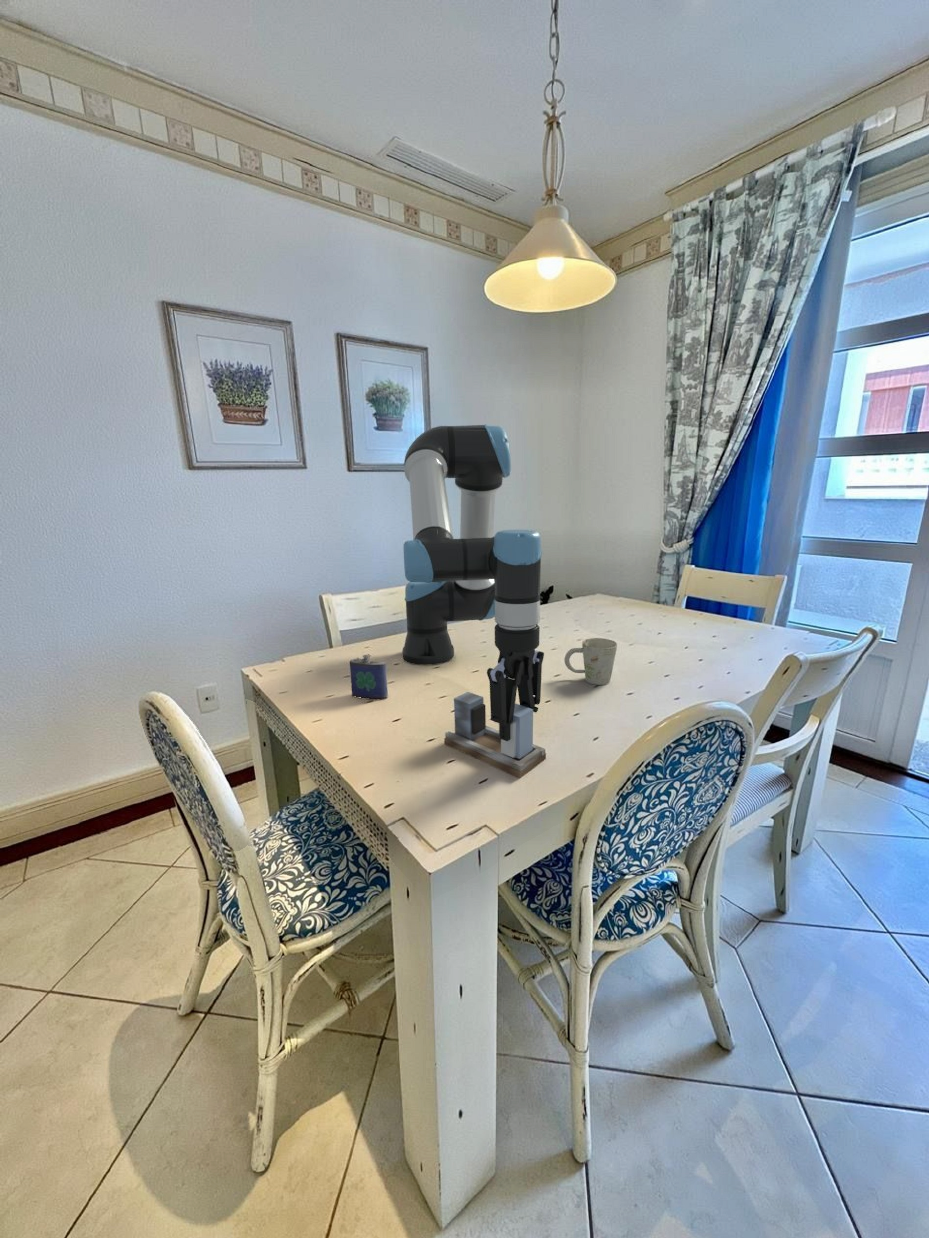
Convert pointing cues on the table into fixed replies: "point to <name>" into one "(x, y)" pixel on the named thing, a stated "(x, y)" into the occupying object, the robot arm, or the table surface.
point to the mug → (595, 659)
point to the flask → (368, 678)
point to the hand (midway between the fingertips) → (516, 748)
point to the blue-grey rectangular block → (523, 730)
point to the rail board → (485, 738)
